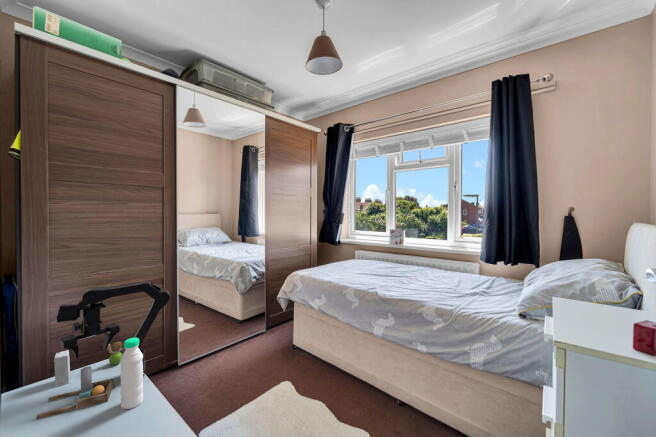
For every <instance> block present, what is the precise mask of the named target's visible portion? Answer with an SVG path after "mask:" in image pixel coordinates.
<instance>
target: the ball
mask: <svg viewBox="0 0 656 437" xmlns="http://www.w3.org/2000/svg"><path fill="white" fill-rule="evenodd" d="M103 393H105V388H104V387H103V386H102V385H98V386H96V387H95V388H93V390H92V392H91V394H92V396H95V395H99V394H103Z"/></svg>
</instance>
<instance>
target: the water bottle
mask: <svg viewBox="0 0 656 437" xmlns="http://www.w3.org/2000/svg"><path fill="white" fill-rule="evenodd" d="M123 346H124V348H125V349H126V350H125V352H124V354H123V356H122V358H121V361H120V363H119V364H120V387H121V388H120V396H121V397H120V408H121V409H124V410H129V409H133V408H136V407H138V406H139V405H140V404H141V403H142V402H143V401H144V391H143V390H144V383H143V380H144V376H143V361H142V359H143V354H142V353H141V351H140V349H139V348H138V346H139V339H138V338H133V337H130V338H128V339H126V340H124V342H123Z"/></svg>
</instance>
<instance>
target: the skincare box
mask: <svg viewBox="0 0 656 437" xmlns="http://www.w3.org/2000/svg"><path fill="white" fill-rule="evenodd" d="M53 360H54V381H55V387H59V386H63V385H66V384H69V383H70V380H71V367H70V366H71V365H70V364H71V363H70V361H71V360H70V349H67V350H63V351H59V352H56V353H55V355H54V358H53Z"/></svg>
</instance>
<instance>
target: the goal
mask: <svg viewBox="0 0 656 437" xmlns="http://www.w3.org/2000/svg"><path fill="white" fill-rule="evenodd" d="M92 384H93V388H95V387H96V386H98V385H102V386H103V387H104V389H105V391H104V392H103V394H99V395H95V396H91V397H87V398H83V399H79V398H78V399H77V400H76V404H74V405H71V406H70V405H69V406H66V407H61V408H58V409H54V410H53V409H52V410H50V411H46V412H42V413H41V412H40V413H38V414H36V417H35V418H36V419H35V420H40V419H43V418H44V419H45V418H48V417H52V416H55V415H60V414H63V413H68V412H71V411H76V410H79V409H84V408H87V407H88V408H89V407H91V406H95V405H99V404H103V403H107V402H108V401H109V399H110V396H111V394H112V391H113V387H114V385H115V384H114V378H109V379H105V380H99V381H94V382H92ZM80 392H81V389H78V390H74V391H70V392H69V391H68V392H65V393H62V394H61V393H60V394H57V395H51V396H49V397H48V398H47V402H53V401H57V400H62V399H65V398H70V397H73V396H79V394H80Z"/></svg>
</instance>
